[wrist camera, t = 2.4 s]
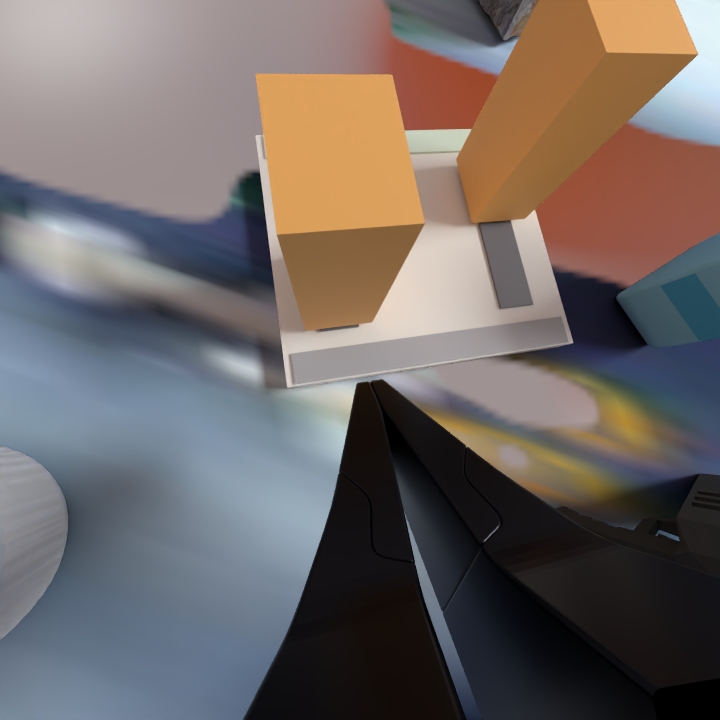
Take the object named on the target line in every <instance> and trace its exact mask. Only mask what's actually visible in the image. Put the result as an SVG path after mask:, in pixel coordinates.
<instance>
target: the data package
mask: <svg viewBox="0 0 720 720" xmlns="http://www.w3.org/2000/svg"><path fill="white" fill-rule="evenodd" d="M616 299H617V301H618V302H619V304H620V305H621V307H622V308H623V309H624V311H625V312H626V314H627V315H628V317H629V318H630V320H631V321H632V323H633V324H634V325H635V327H636V328H637V330H638V331H639V333H640V334H641V336H642V337H643V339H644V340H645V341H646V343H647V344H648V345H649V346H650V347H653V348H664V347H670V346H676V345H682V344H687V343H693V342H699V341H705V340H711V339H716V338H720V233H718V234H716V235H714V236H712V237H710V238H708V239H706V240H704V241H702V242H700V243H698V244H697V245H695V246H693V247H692V248H690V249H688V250H687V251H685V252H684V253H682V254H681V255H679V256H677V257H676V258H674V259H673V260H671V261H670V262H668V263H667V264H665V265H663V266H662V267H660V268H659V269H657V270H656V271H654V272H652V273H650V274H649V275H647V276H646V277H644V278H643V279H641V280H639V281H638V282H636V283H635V284H633V285H632V286H630V287H628V288H627V289H625V290H624V291H622V292H621V293H619V294H618V295H617V297H616Z"/></svg>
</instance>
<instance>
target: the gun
mask: <svg viewBox="0 0 720 720" xmlns="http://www.w3.org/2000/svg"><path fill="white" fill-rule="evenodd" d="M558 511H559V512H561V513H562V514H564V515H565V516H567V517H568V518H570V519H571V520H573V521H574V522H576V523H577V524H579V525H581V526H582V527H584V528H586V529H587V530H589V531H591V532H593V533H595V534H597V535H599V536H601V537H603V538H605V539H607V540H609V541H612V542H614V543H617V544H619V545H622V546H625V547H628V548H631V549H634V550H637V551H640V552H643V553H647V554H650V555H653V556H656V557H659V558H662V559H665V560H668V561H671V562H674V563H677V564H680V565H684V566H687V567H690V568H693V569H696V570H699V571H702V572H705V573H708V574H711V575H714V576H717V577H720V475H710V474H699V476H698V478H697V480H696V482H695V483H694V485H693V487H692V489H691V491H690V493H689V494H688V496H687V498H686V500H685V502H684V504H683V505H682V507H681V509H680V511H679V513H678V514H677V516H676V518H648V519H643V520H642V521H641V522H640V523H639V525H638V526H637V527H636V529H635V530H634V531H633V530H629V529H625V528H621V527H618V528H617V527H613V526H609V525H607V523H605V522H600V521H596V520H592V518H590V517H586V516H582V515H578V513H577V512H575V511H573V510H571V509H569V508H567V507H565V506H563V507H561V508H559V509H558ZM658 530H662V531H665V532H667V533H670V534H673V535H676V536H678V537H679V540H680V541H676V540H673V539H671V538H668V537H666V536H664V535H661V534H658V536H655V535H656V534H657V532H658Z"/></svg>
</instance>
